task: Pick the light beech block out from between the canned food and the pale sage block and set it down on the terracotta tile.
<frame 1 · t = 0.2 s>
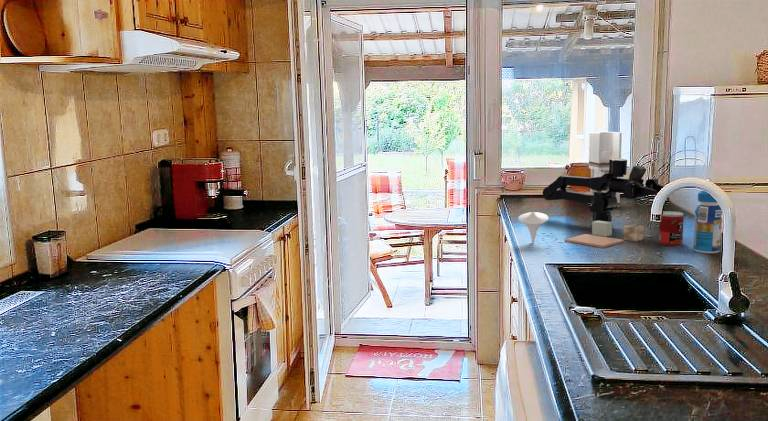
hand: (662, 191, 247), 17 cm above the worktop, tool horizontal, fingers open, 9 cm apart
terracotta tile: (594, 241, 242), on the worktop
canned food: (670, 244, 235), on the worktop
beech block: (633, 239, 244), on the worktop
sage block: (601, 234, 254), on the worktop
tall white pillar: (603, 206, 320), on the worktop
beverage bottle: (706, 251, 223), on the worktop
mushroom: (533, 243, 243), on the worktop
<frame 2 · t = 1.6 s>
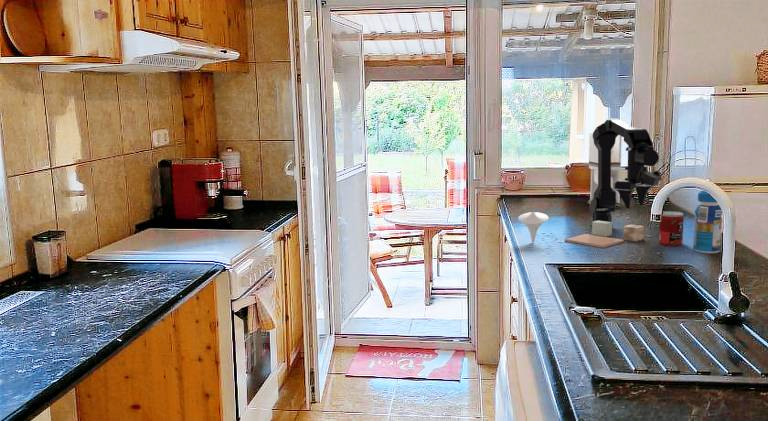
hand: (634, 206, 242), 12 cm above the worktop, tool pointing down, fingers open, 9 cm apart
nothing on the worktop moved.
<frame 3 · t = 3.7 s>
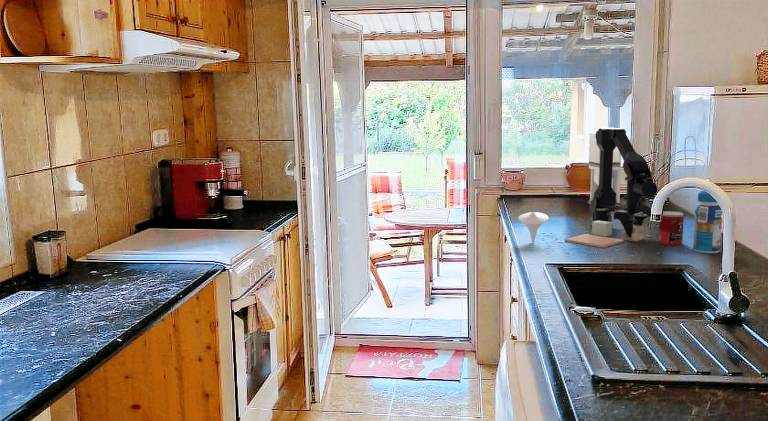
hand: (633, 236, 244), 1 cm above the worktop, tool pointing down, fingers closed on beech block, 5 cm apart
beech block: (633, 239, 244), on the worktop, touching gripper
everything else where it was.
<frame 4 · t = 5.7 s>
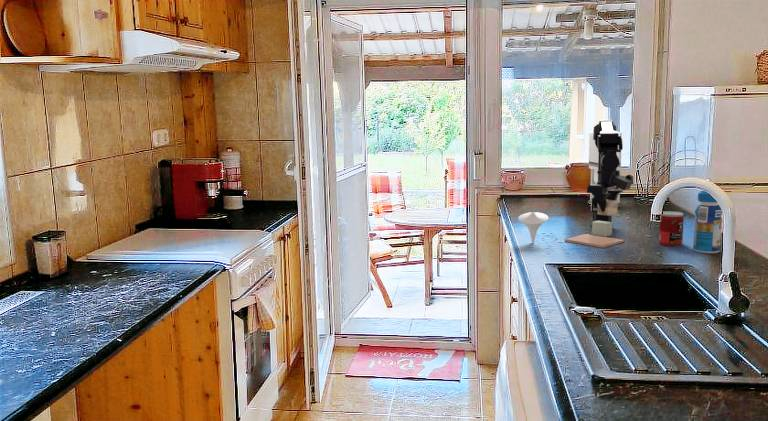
hand: (607, 210, 240), 11 cm above the worktop, tool pointing down, fingers closed on beech block, 5 cm apart
beech block: (607, 214, 240), point 10 cm above the worktop, touching gripper
everything else where it was.
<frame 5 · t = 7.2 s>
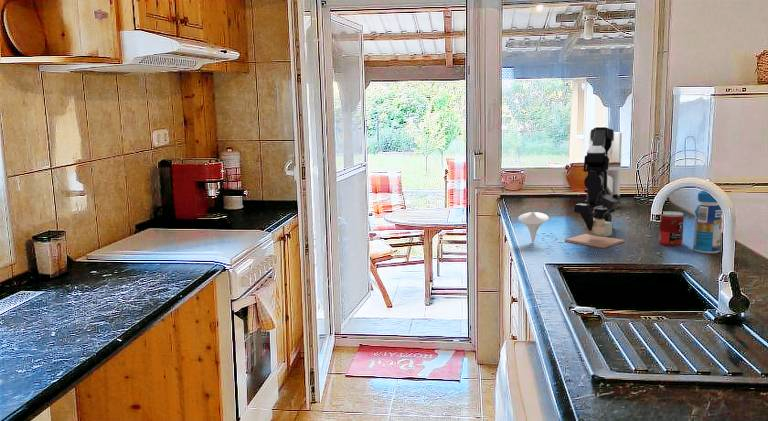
hand: (594, 229, 241), 5 cm above the worktop, tool pointing down, fingers closed on beech block, 5 cm apart
beech block: (594, 232, 241), point 3 cm above the worktop, touching gripper
everything else where it was.
when the fingers open (3 cm above the worktop, at t = 8.2 s): beech block drops 1 cm, resting on terracotta tile.
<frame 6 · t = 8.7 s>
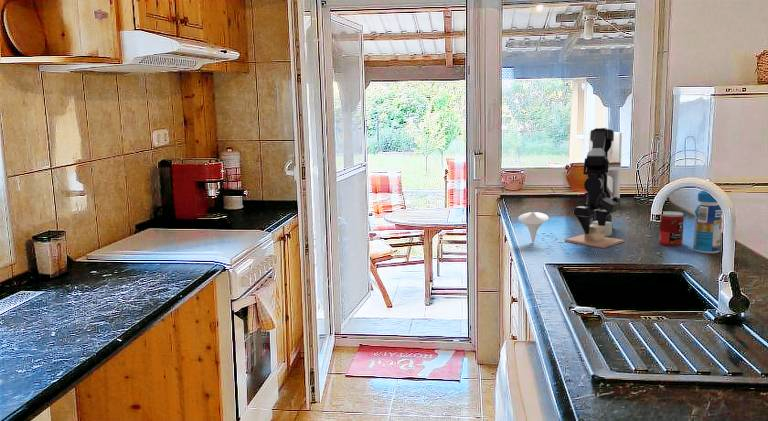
hand: (594, 232, 241), 3 cm above the worktop, tool pointing down, fingers open, 9 cm apart
beech block: (594, 239, 242), point 1 cm above the worktop, touching terracotta tile
everything else where it was.
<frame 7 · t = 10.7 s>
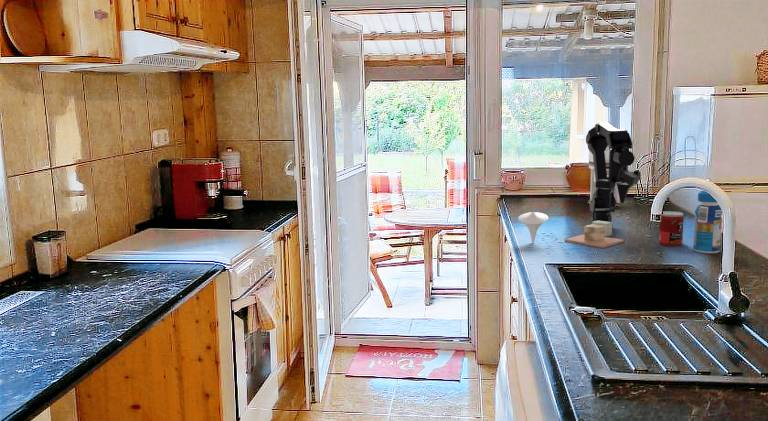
hand: (615, 204, 252), 12 cm above the worktop, tool pointing down, fingers open, 9 cm apart
nothing on the worktop moved.
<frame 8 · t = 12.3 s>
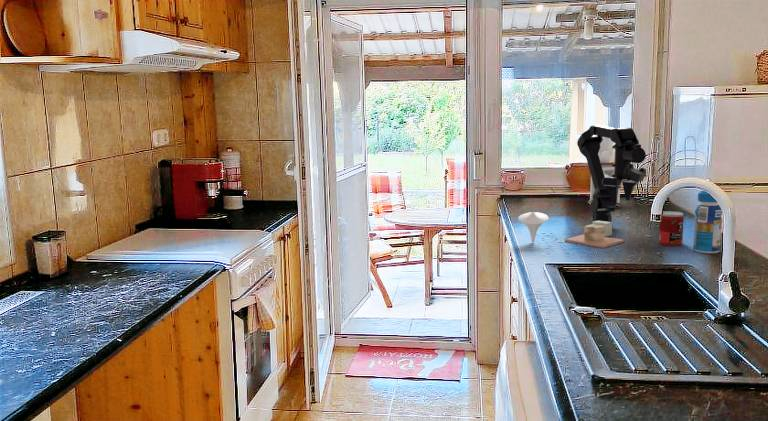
hand: (621, 201, 254), 12 cm above the worktop, tool pointing down, fingers open, 9 cm apart
nothing on the worktop moved.
at the end: beech block inside the target area on the terracotta tile (0.1 cm from its centre), point 0.8 cm above the terracotta tile's base; beech block tilted 0°; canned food moved 0.2 cm from its start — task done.
